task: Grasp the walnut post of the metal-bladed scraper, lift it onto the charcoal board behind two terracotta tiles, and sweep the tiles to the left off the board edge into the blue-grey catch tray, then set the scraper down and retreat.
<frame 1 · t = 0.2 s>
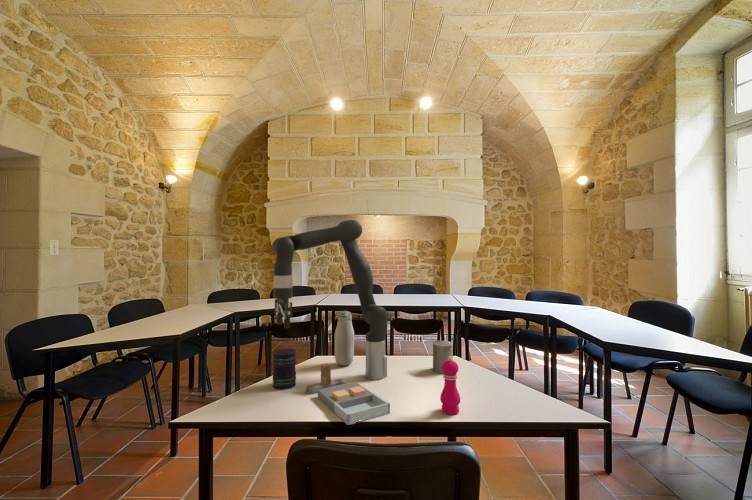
hand: (283, 326, 140), 28 cm above the table, fingers open, 8 cm apart
pepper mill: (450, 411, 127), on the table
storage jar: (284, 386, 152), on the table
tile b: (341, 396, 132), point 3 cm above the table, touching board
tile a: (357, 393, 136), point 3 cm above the table, touching board
scraper: (325, 389, 148), on the table
grey bottle: (344, 365, 180), on the table
tray: (361, 412, 125), on the table
pillar candle: (442, 370, 171), on the table
board: (345, 399, 137), on the table
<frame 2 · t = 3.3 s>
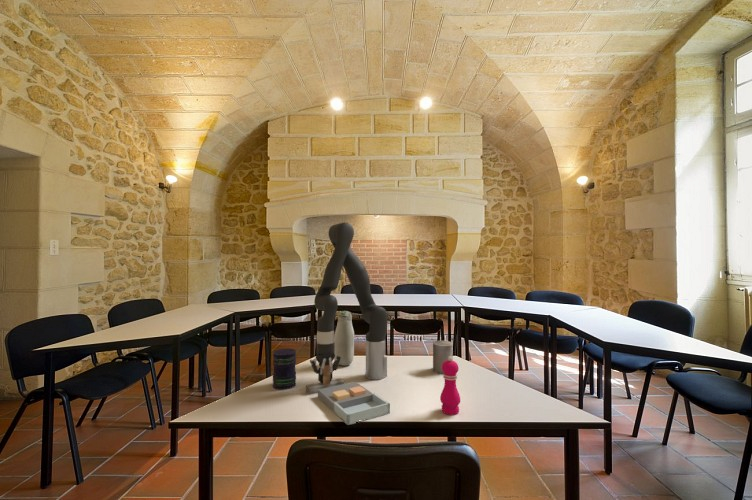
hand: (325, 381, 148), 3 cm above the table, fingers closed on scraper, 3 cm apart
scraper: (325, 389, 148), on the table, touching gripper
everything else where it was.
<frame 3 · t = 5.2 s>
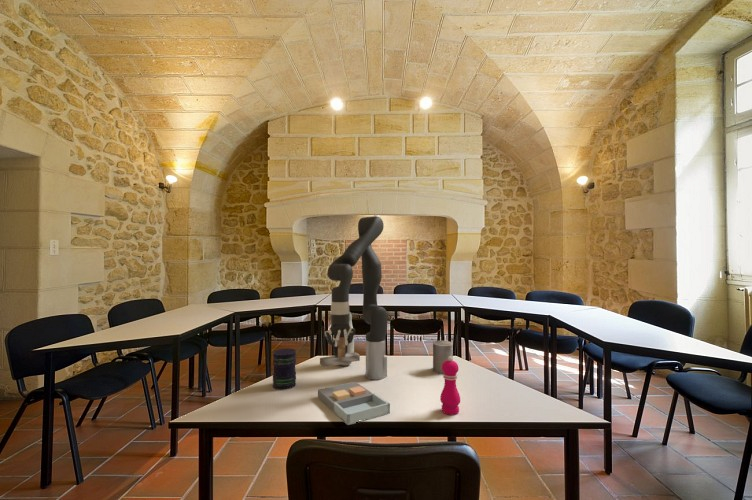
hand: (340, 354, 142), 17 cm above the table, fingers closed on scraper, 3 cm apart
scraper: (340, 362, 142), point 13 cm above the table, touching gripper
everything else where it was.
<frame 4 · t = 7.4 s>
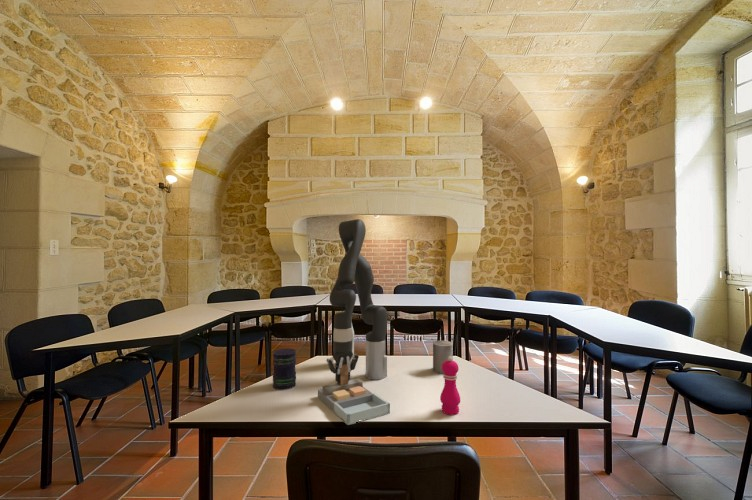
hand: (342, 381, 139), 6 cm above the table, fingers closed on scraper, 3 cm apart
scraper: (342, 389, 139), point 3 cm above the table, touching gripper
everything else where it was.
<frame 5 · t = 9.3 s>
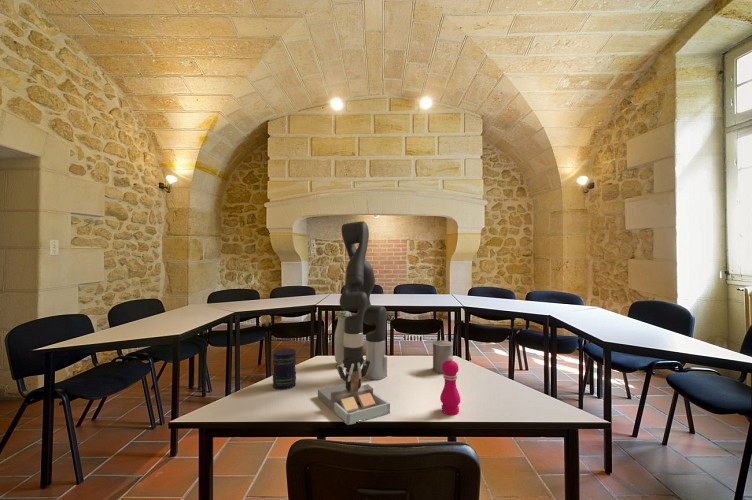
hand: (353, 389, 131), 6 cm above the table, fingers closed on scraper, 3 cm apart
tile b: (348, 406, 127), point 2 cm above the table, tilted 30°, touching scraper, tray
tile a: (366, 402, 130), point 2 cm above the table, tilted 30°, touching board, scraper, tray
scraper: (352, 396, 132), point 3 cm above the table, tilted 5°, touching board, gripper, tile a, tile b, tray
everything else where it was.
when the fingers open (6 cm above the table, at t = 11.5 s): scraper stays where it is, resting on board.
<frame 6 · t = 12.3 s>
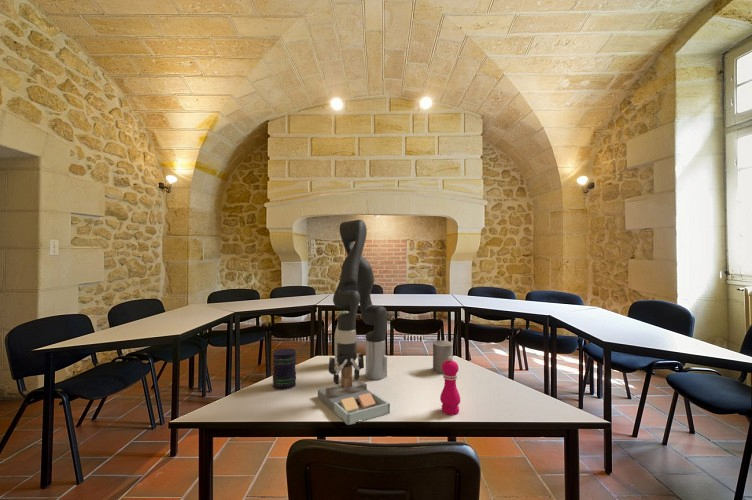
hand: (346, 381, 136), 7 cm above the table, fingers open, 8 cm apart
tile b: (349, 406, 126), point 2 cm above the table, tilted 29°, touching board, tray
tile a: (366, 402, 130), point 2 cm above the table, tilted 29°, touching board, tray
scraper: (346, 392, 136), point 3 cm above the table, touching board
everything else where it was.
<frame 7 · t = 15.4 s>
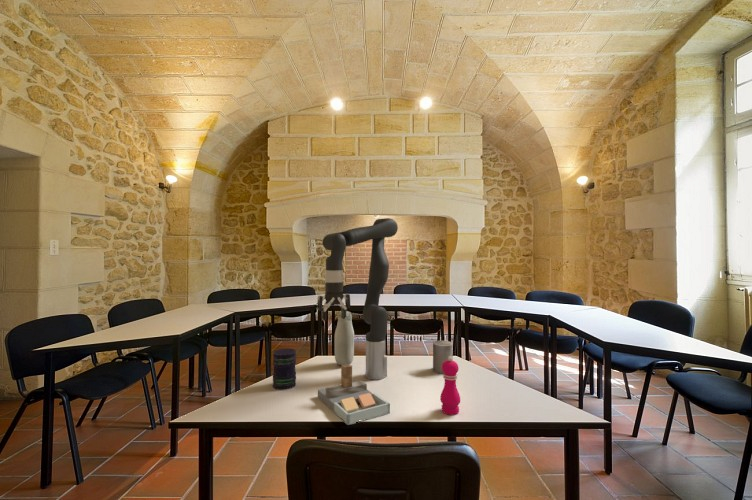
hand: (334, 319, 146), 30 cm above the table, fingers open, 8 cm apart
nothing on the table moved.
at the end: tile a inside the target area (5.6 cm from its centre), point 1.8 cm above the table; tile b inside the target area (5.4 cm from its centre), point 1.8 cm above the table; the gripper is holding nothing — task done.
